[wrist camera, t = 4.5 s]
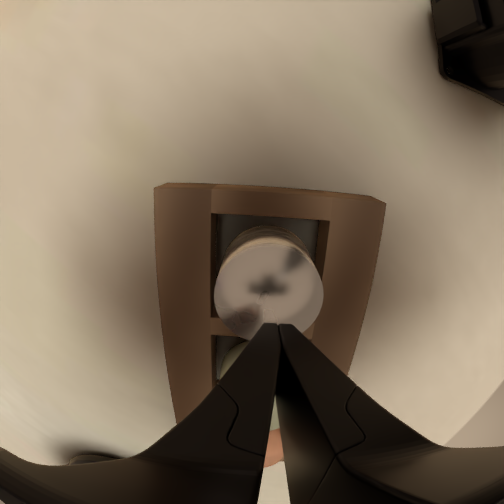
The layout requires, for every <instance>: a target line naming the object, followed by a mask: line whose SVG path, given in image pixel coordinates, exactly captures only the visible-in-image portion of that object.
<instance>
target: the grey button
mask: <svg viewBox="0 0 504 504" xmlns="http://www.w3.org/2000/svg"><path fill="white" fill-rule="evenodd" d="M214 303H215V307H216V310H217V313H218V315H219V317H220V319H221V320H222V322H223V323H224V324H225V326H226V327H227V328H228V329H229V330H231V331H232V332H233V333H234V334H236V335H238V336H239V337H241V338H243V339H246V340H249V341H250V340H251V339H252V338H253V336H254V335H255V334H256V332H257V331H258V330H259V328H260V327H261V326H262V324H263V323H276V324H277V325H278V324H280V323H284V324H293V325H294V326H295V327H296V328H297V329H298V330H299V331H300V332H301V333H303V332H304V331H305V330H306V329H308V328H309V327H310V326H311V325H312V323H313V322H314V321H315V319H316V318H317V316H318V314H319V312H320V310H321V307H322V303H323V285H322V281H321V278H320V276H319V274H318V272H317V269H316V267H315V265H314V263H313V261H312V259H311V257H310V255H309V253H308V251H307V249H306V247H305V245H304V244H303V242H302V241H301V240H300V239H299V238H298V237H297V236H296V235H295V234H294V233H292V232H290V231H289V230H287V229H284V228H282V227H278V226H272V225H262V226H256V227H253V228H250V229H248V230H246V231H244V232H242V233H241V234H239V235H238V236H237V237H236V238H235V239H234V240H233V241H232V242H231V243H230V245H229V246H228V248H227V250H226V252H225V255H224V258H223V261H222V265H221V268H220V271H219V275H218V278H217V281H216V285H215V289H214Z"/></svg>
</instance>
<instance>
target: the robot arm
mask: <svg viewBox="0 0 504 504" xmlns="http://www.w3.org/2000/svg"><path fill="white" fill-rule="evenodd" d="M432 5H433V6H432V10H433V17H434V24H435V32H436V39H437V43H438V54H439V69H440V73H441V75H442V76H443V77H444V78H445V79H447V80H449V81H451V82H454V83H456V84H459V85H461V86H464V87H466V88H468V89H470V90H473V91H475V92H477V93H479V94H481V95H483V96H485V97H488V98H490V99H492V100H494V101H496V102H498V103H499V104H501V105H503V106H504V0H432ZM447 69H448V70H449V71H450V74H449V73H448V72H447ZM274 399H276V406H277V413H278V420H279V427H280V434H281V441H282V448H283V455H284V462H285V469H286V476H287V483H288V490H289V497H290V504H504V446H500V447H483V448H450V447H444V446H441V445H438V444H436V443H433V442H432V441H430V440H428V439H427V438H425V437H424V436H422V435H421V434H419V433H418V432H416V431H415V430H414V429H412V428H411V427H409V426H408V425H406V424H405V423H403V422H402V421H401V420H399V419H398V418H396V417H395V416H394V415H392V414H391V413H390V412H388V411H387V410H386V409H384V408H383V407H382V406H380V405H379V404H378V403H377V402H376V401H374V400H373V399H372V398H371V397H370V396H369V395H367V394H366V393H365V392H364V391H363V390H362V389H361V388H360V387H359V386H357V385H356V384H355V383H354V382H353V381H352V380H351V379H350V378H349V377H348V376H347V375H346V374H345V373H344V372H342V371H341V370H340V369H339V368H338V367H337V366H336V365H335V364H334V363H333V362H332V361H331V360H330V359H329V358H328V357H326V356H325V355H324V354H323V353H322V352H321V351H320V350H319V349H318V348H317V347H316V346H315V345H314V344H313V343H312V342H311V341H310V340H309V339H308V338H306V337H305V336H304V335H303V334H302V333H301V332H300V331H299V330H298V329H297V328H296V327H295V326H294V325H293V324H284V323H280V324H278V325H277V324H276V323H263V324H262V326H261V327H260V328H259V330H258V331H257V332H256V334H255V335H254V336H253V338H252V339H251V340H250V341H249V343H248V344H247V345H246V347H245V348H244V349H243V351H242V352H241V353H240V355H239V356H238V357H237V358H236V360H235V361H234V362H233V364H232V365H231V366H230V367H229V369H228V370H227V371H226V373H225V374H224V375H223V376H222V378H221V379H220V380H219V381H218V383H217V384H216V385H215V386H214V388H213V389H212V390H211V391H210V393H209V394H208V395H207V396H206V397H205V398H204V399H203V400H202V402H201V403H200V404H199V405H198V406H197V407H196V408H195V409H194V410H193V411H192V412H190V413H189V414H188V415H187V416H186V417H185V418H184V419H183V420H182V421H180V422H179V423H178V424H177V425H176V426H175V427H173V428H172V429H171V430H170V431H169V432H168V433H166V434H165V435H164V436H163V437H162V438H160V439H159V440H158V441H157V442H156V443H154V444H153V445H152V446H150V447H149V448H148V449H146V450H145V451H143V452H141V453H139V454H137V455H135V456H132V457H129V458H124V459H117V460H111V461H103V462H95V463H86V464H76V465H62V466H48V465H41V464H35V463H32V462H28V461H26V460H23V459H21V458H19V457H17V456H16V455H14V454H12V453H10V452H9V451H7V450H5V449H3V448H2V447H0V500H1V501H3V502H4V503H5V504H257V502H258V497H259V491H260V485H261V479H262V473H263V468H264V462H265V456H266V450H267V444H268V438H269V432H270V426H271V419H272V413H273V406H274Z"/></svg>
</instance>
